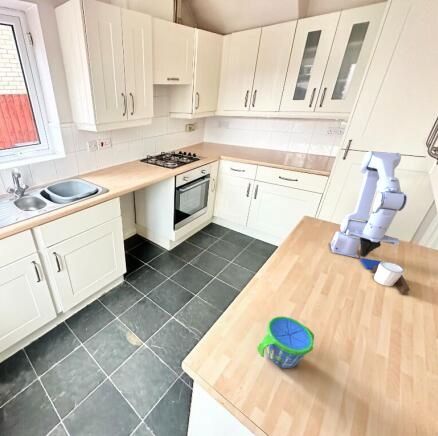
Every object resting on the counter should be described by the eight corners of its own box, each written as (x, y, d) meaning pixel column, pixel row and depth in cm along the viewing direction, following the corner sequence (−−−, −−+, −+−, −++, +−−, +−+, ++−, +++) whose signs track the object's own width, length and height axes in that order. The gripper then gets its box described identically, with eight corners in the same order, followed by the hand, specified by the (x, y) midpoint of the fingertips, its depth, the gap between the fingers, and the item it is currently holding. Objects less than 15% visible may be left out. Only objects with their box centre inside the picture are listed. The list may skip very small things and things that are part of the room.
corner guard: (378, 288, 90) (382, 282, 88) (371, 270, 98) (374, 265, 97) (405, 295, 87) (410, 289, 85) (396, 276, 95) (399, 270, 93)
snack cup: (264, 378, 63) (273, 355, 58) (245, 341, 72) (252, 318, 67) (320, 372, 64) (333, 348, 59) (295, 336, 73) (304, 313, 68)
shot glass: (385, 275, 96) (393, 261, 92) (400, 287, 90) (410, 273, 86) (367, 274, 96) (375, 260, 93) (381, 287, 90) (390, 272, 87)
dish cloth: (366, 269, 99) (367, 267, 99) (360, 259, 105) (360, 257, 104) (390, 273, 97) (391, 271, 96) (383, 263, 102) (383, 261, 102)
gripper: (354, 225, 86) (340, 255, 92) (409, 234, 79) (390, 267, 86) (351, 216, 91) (338, 246, 97) (402, 225, 85) (384, 256, 91)
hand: (362, 255), depth 92 cm, fingers closed
